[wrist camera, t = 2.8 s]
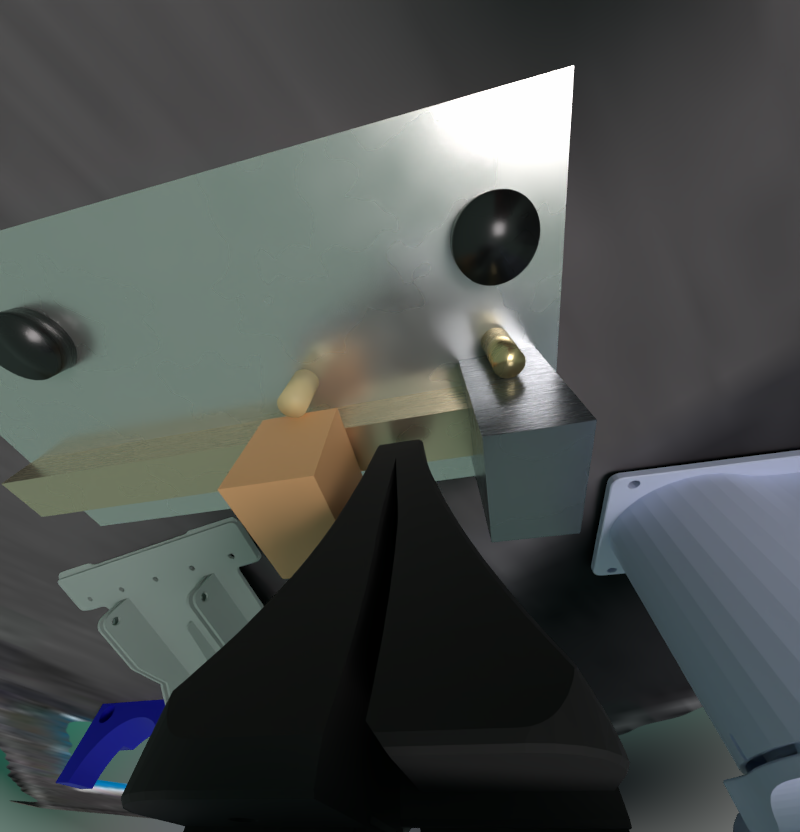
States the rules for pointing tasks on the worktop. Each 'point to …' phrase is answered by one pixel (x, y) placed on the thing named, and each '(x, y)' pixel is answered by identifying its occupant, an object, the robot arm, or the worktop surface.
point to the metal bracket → (171, 599)
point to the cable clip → (110, 739)
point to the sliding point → (293, 477)
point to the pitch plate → (308, 317)
